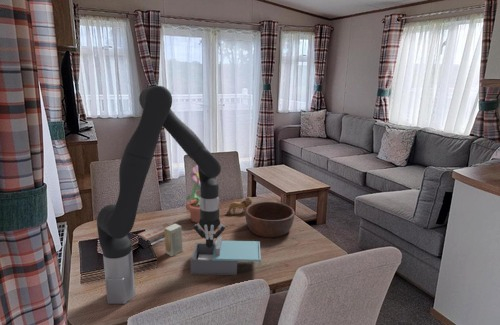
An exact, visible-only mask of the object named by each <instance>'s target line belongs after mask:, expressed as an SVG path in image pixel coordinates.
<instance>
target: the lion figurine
mask: <svg viewBox="0 0 500 325" xmlns="http://www.w3.org/2000/svg"><path fill="white" fill-rule="evenodd" d="M251 204H253V198H252V197H250V196H247V197H245V199H244V200H243V201H238V202H237V201H232V202H231V203H230V204H229V207H228V211H227V212H226V213H227V214H229V213H233V214H234V215H237V212H236V209H239V210H240V209H241V210H242V212H243V213H245V209H246V207H247V206H249V205H251Z"/></svg>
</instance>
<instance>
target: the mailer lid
mask: <svg viewBox="0 0 500 325" xmlns="http://www.w3.org/2000/svg"><path fill="white" fill-rule="evenodd" d="M222 239H223V237H222V236H218V237H217V238H216V240H215V241H214V243H215V246H214V251H213V256H212V261H238V262H258V265H259V266H261V263H262V255H261V241H258V240H256V241H255V240H252V241H251V240H222Z"/></svg>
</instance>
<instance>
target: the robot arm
mask: <svg viewBox="0 0 500 325" xmlns="http://www.w3.org/2000/svg"><path fill="white" fill-rule="evenodd" d="M138 98H139V99H138V101H139V106H140V107H141V109H143V110H142V114H141V118H140V120H139V123H138V125H137V127H136V129H135V130H134V132H133V134H132V135H131V137H130V139H129V140H128V142H127V144H126V146H125V148H124V151H123V153H122V157H121V160H120V163H119V168H118V170H119V171H118V176H119V177H118V178H119V180H118V181H119V193H118V197H117V200H116V202H115V203H116V204H113V203H112V204H108V205H105V206H103V208H102V209H100V211H99V212H98V214H97V218H96V227H97V234H98V236H97V237H98V241H99V247H101V250H102V258H103V268H104V277H105V278H104V279H105V291H106V299H107V300H106V301H107V304H109V305H110V304H112V305H125V304H127V302H129V301H130V300H132V299H134V296H136V286H135V285H136V284H135V272H134V259H133V243H132V241H131V239H130V238H129V236H128V235H129V234H130V233H131V231H132V229H133V228H134V224H135V221H136V217H137V212H138V208H139V202H140V198H141V195H142V192H143V188H144V185H145V182H146V179H147V176H148V173H149V171H150V168H151V164H152V162H153V158H154V154H155V151H156V148H157V145H158V142H159V138H160V134H161V131H162V129H163V128H164V129H165V131H167V132H168V134H170V136H171V137H172V138H173V140H174V141H175V142H176V143H177V145H179V147H181V149H182V150H183V151H184V153H185V154H186V155H187V156H188V157H189V158H190V160H192V161H193V162H195V164H196V165H198V173H199V179H200V184H201V185H200V187H201V188H200V189H199V190H200V197H199V198H200V220H199V223H194V226H193V229H194V231H195V232H196V233H197V234H198V235H199V236H200V238H202V239H205V243H206V246H208V248H211V246H213V243H214V239H218V237H220V236H221V234H222V233H223V232H224V230H226V224H223V223H221V220H220V197H219V196H220V195H219V194H220V192H219V191H220V190H219V188H220V186H219V183H218V181H217V179H216V178H217V177H218V176H220V173H221V171H222V165H221V163H220V161H219V160H218V159H217V158H216V157H215V156H214V155H213V153H211V151H209V149H208V148H207V147H206V146H205V144H204V142H202V140H201V139H200V138H199V137H198V134H196V133H195V132H194V131H193V130H192V129H191V128H190V127H189V126H188V125H187V124H186V123H184V122H183V121H182V119H180V118H179V117H178V116H177V115H176V114H175V113H174V111H173V110H172V105H173V96H172V93H171V91H170V90H169V88H167V87H165V86H162V85H154V86H149V87H146V88H144V89H143V90H141V91H140V94H139V97H138ZM217 229H218V230H217ZM216 230H217V231H216ZM215 231H216V232H215Z"/></svg>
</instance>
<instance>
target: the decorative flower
mask: <svg viewBox="0 0 500 325" xmlns="http://www.w3.org/2000/svg"><path fill="white" fill-rule="evenodd" d="M191 170H192V172H191V173H190V177H191V178H192V180H193V182H194V184H193V186H192V191H191V194H189V195H187V197H186V201H187V203H186V205H185V209H186V210H187V211H188V212H190V213H189V214H190V220H191V222H193V223H194V224H198V223H199V220H200V197H199V196H198V195H197V193H196V191H197V189H198V190H200V188H201V184H200V179H199V173H198V165H197V164H196V165H195V167H194V166H193V167H192V169H191ZM190 199H191V200H190Z"/></svg>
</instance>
